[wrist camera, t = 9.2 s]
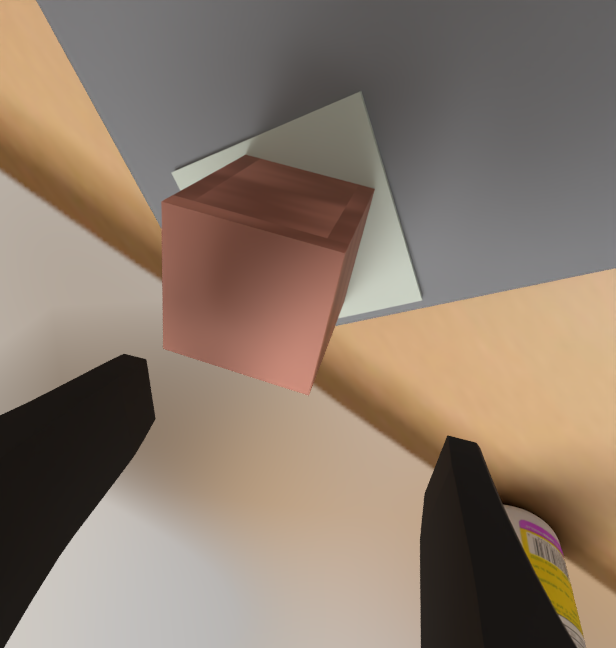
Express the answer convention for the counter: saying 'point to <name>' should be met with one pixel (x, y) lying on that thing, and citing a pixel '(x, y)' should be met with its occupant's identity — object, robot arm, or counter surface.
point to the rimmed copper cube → (259, 268)
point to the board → (379, 123)
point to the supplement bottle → (548, 566)
